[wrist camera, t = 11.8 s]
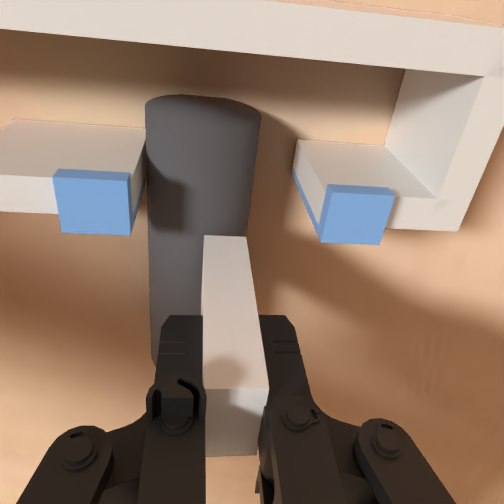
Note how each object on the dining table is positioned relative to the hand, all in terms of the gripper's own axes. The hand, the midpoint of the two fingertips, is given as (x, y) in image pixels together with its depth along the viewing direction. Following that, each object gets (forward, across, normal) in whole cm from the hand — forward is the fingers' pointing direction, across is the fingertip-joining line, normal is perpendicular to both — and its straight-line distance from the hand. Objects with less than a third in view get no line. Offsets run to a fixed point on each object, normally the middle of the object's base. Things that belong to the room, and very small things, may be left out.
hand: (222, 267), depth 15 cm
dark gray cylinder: (+4, 0, -1) cm, 4 cm away
